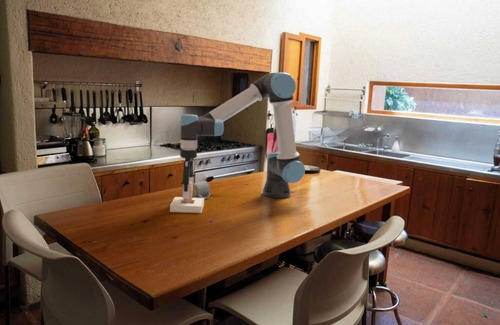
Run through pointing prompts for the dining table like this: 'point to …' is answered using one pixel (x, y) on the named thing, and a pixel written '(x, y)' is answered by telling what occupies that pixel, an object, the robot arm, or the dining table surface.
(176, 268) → the dining table surface
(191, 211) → the socket block
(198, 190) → the ceramic mug
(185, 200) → the peg
